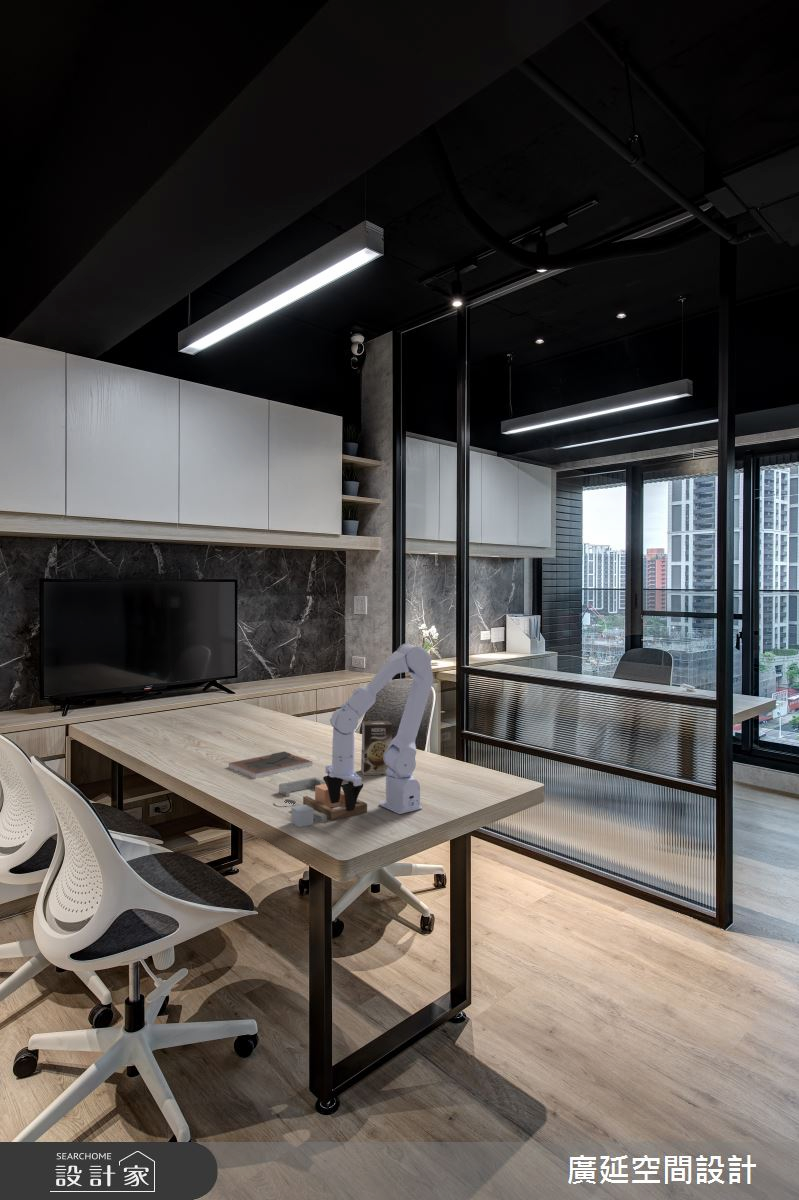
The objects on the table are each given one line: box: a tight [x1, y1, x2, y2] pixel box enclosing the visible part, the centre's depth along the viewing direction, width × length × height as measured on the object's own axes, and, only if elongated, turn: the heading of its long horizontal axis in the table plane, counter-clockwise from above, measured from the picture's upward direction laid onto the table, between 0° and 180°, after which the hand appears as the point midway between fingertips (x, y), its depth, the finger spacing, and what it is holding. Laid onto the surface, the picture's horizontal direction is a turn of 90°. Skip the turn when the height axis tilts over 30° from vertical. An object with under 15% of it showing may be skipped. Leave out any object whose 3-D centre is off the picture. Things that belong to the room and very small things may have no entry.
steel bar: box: [291, 803, 328, 823], centre depth 170 cm, size 12×2×2 cm, turn 47°
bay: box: [302, 790, 368, 821], centre depth 175 cm, size 15×11×2 cm
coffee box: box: [360, 720, 393, 776], centre depth 210 cm, size 9×6×16 cm
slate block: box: [290, 804, 314, 828], centre depth 164 cm, size 4×4×4 cm
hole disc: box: [284, 798, 297, 805], centre depth 179 cm, size 6×6×1 cm
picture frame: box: [228, 751, 314, 779], centre depth 214 cm, size 16×2×22 cm
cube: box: [314, 783, 342, 809], centre depth 178 cm, size 5×5×5 cm
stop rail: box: [278, 776, 324, 797], centre depth 190 cm, size 4×12×2 cm, turn 128°
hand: (342, 806), depth 172 cm, fingers open, 7 cm apart
